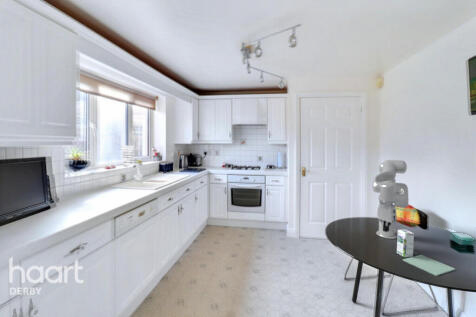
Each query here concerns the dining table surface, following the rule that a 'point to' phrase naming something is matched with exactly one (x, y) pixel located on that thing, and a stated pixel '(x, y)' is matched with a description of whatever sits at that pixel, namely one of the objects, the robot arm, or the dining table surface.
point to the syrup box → (405, 243)
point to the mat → (429, 265)
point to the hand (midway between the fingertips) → (385, 231)
